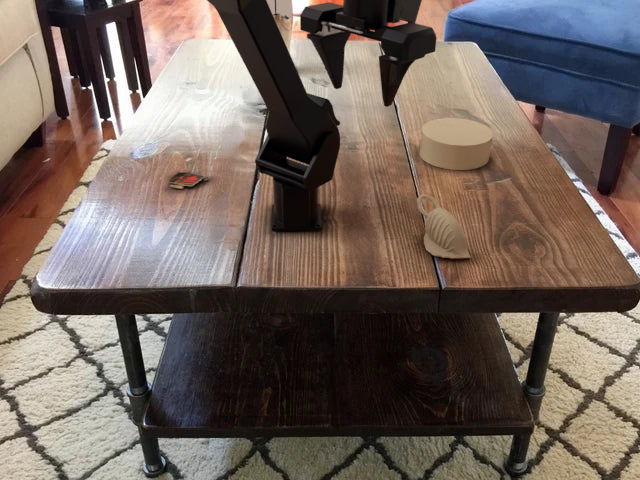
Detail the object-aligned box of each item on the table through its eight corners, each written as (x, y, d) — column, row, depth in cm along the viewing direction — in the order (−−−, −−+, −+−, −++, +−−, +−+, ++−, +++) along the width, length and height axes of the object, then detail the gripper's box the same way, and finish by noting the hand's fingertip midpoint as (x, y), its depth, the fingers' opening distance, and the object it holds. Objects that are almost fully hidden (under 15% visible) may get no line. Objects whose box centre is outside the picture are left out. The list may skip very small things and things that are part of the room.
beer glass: (256, 67, 136) (252, -10, 127) (286, 63, 139) (284, -12, 130) (267, 77, 131) (264, -2, 122) (299, 73, 134) (297, -5, 125)
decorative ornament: (442, 266, 76) (448, 227, 73) (408, 232, 82) (412, 195, 79) (471, 259, 78) (478, 220, 74) (436, 226, 84) (441, 189, 80)
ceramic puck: (496, 170, 98) (501, 145, 95) (425, 170, 97) (427, 145, 95) (480, 141, 106) (483, 117, 104) (414, 141, 106) (416, 117, 104)
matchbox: (176, 173, 95) (175, 170, 95) (209, 176, 94) (209, 173, 94) (164, 187, 91) (164, 184, 91) (199, 190, 91) (198, 187, 90)
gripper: (472, -29, 76) (454, 101, 85) (358, -49, 87) (353, 68, 96) (411, -18, 70) (400, 121, 79) (296, -41, 80) (298, 84, 89)
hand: (362, 96), depth 86 cm, fingers open, 9 cm apart
